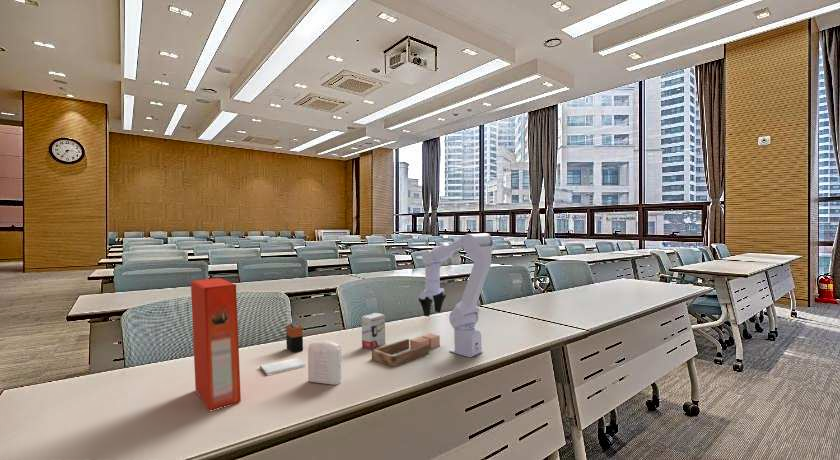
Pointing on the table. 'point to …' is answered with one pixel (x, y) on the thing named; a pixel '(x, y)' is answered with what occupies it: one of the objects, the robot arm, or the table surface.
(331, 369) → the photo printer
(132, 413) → the table surface
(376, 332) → the ink box
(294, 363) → the hard drive
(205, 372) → the file binder
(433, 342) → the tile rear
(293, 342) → the battery
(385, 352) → the tray
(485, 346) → the table surface
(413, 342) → the tile front
